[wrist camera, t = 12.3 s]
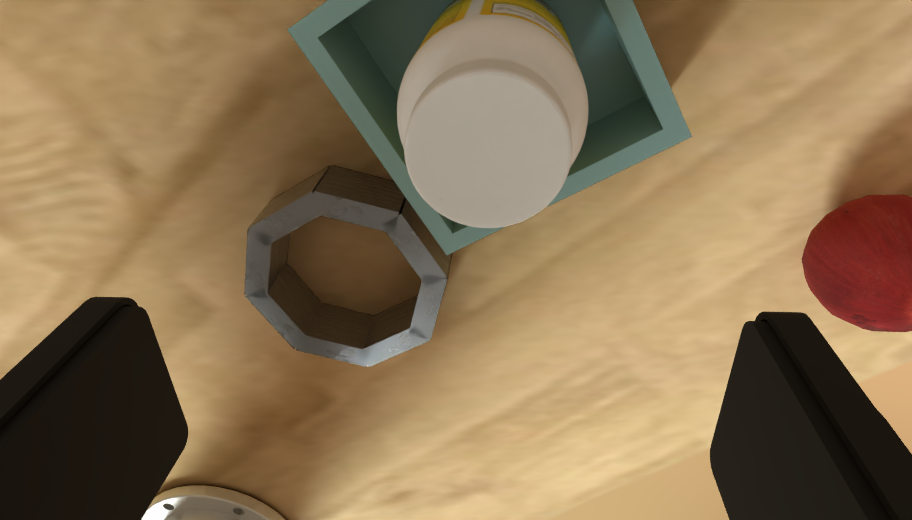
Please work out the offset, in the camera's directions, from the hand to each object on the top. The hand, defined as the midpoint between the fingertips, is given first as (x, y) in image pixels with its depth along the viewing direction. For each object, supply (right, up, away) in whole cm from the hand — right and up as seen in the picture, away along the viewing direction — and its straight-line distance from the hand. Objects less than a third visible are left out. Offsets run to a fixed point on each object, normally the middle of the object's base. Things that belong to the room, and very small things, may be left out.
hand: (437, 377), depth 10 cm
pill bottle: (+2, +11, +16) cm, 20 cm away
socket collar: (-5, +2, +23) cm, 24 cm away
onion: (+19, +4, +20) cm, 28 cm away
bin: (+2, +11, +17) cm, 20 cm away
